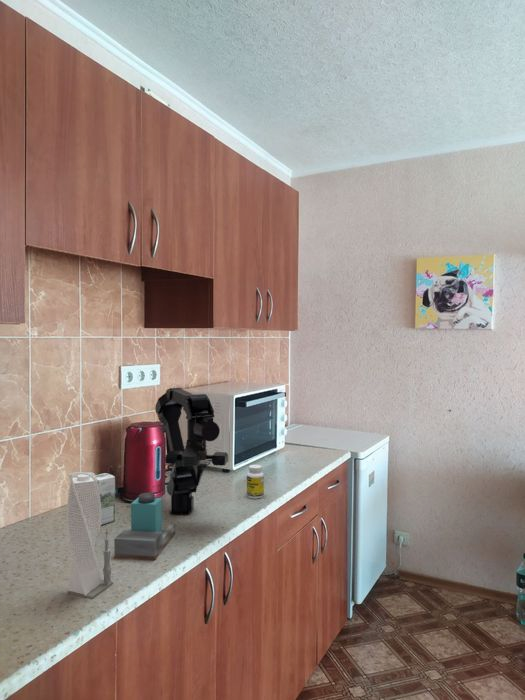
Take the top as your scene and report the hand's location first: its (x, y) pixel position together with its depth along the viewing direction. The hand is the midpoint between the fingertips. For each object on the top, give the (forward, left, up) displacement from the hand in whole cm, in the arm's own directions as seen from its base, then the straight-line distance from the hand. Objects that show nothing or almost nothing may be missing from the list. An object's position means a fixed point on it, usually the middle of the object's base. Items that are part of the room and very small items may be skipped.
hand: (197, 485), depth 150 cm
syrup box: (-30, -2, -12) cm, 32 cm away
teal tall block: (-10, -16, -11) cm, 22 cm away
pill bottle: (+14, +28, -12) cm, 34 cm away
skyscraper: (-15, -41, -12) cm, 45 cm away
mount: (-10, -17, -12) cm, 23 cm away
